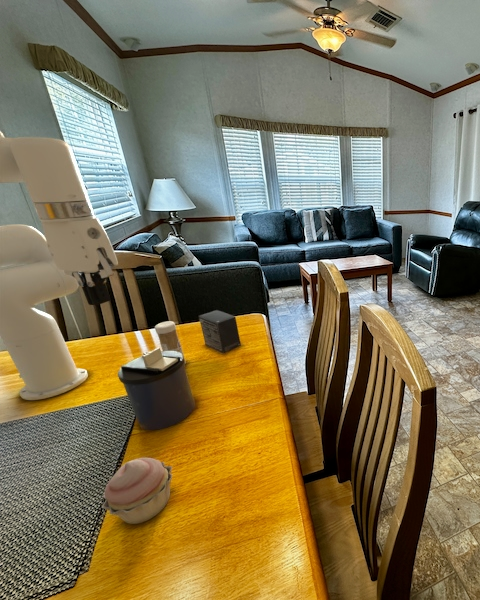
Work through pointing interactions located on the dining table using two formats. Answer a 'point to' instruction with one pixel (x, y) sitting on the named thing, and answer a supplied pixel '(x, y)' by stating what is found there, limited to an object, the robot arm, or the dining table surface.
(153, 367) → the slider
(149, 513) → the cupcake
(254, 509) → the dining table surface
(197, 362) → the dining table surface
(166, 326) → the sprinkles bottle
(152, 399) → the dark blue canister
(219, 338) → the small box
